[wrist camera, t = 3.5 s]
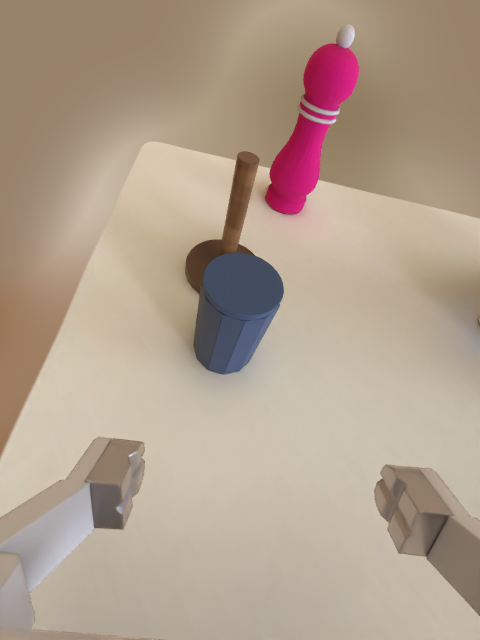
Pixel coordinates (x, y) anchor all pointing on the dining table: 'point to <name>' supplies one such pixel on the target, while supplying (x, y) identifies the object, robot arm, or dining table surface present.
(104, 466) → the robot arm
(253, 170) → the peg stand
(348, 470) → the dining table surface
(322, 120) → the pepper mill
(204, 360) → the blue cylinder
